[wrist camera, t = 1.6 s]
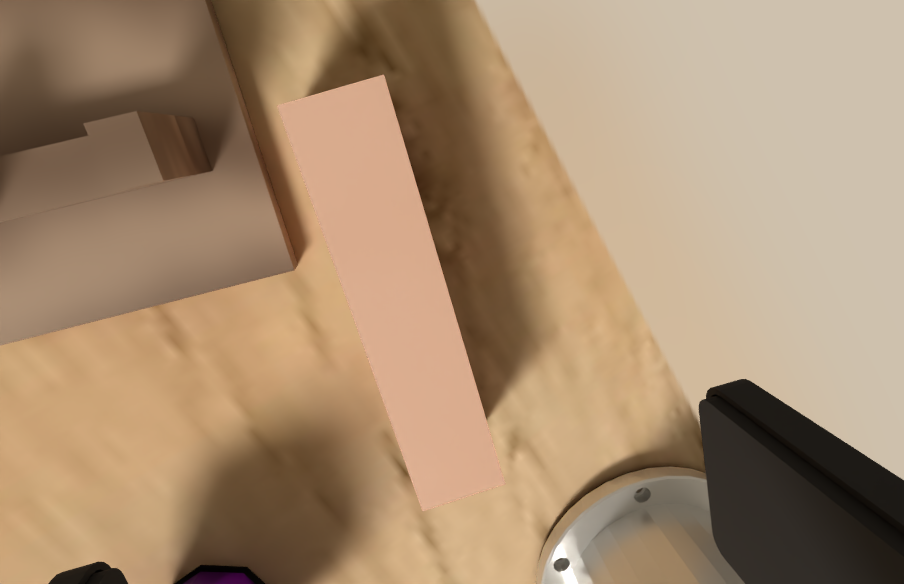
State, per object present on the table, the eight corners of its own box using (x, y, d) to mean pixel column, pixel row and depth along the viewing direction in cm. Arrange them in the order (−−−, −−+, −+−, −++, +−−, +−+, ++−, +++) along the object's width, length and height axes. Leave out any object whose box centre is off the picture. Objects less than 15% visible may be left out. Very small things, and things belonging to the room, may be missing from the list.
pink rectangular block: (482, 422, 27) (505, 484, 22) (414, 444, 26) (422, 511, 22) (382, 88, 22) (384, 74, 17) (299, 112, 22) (276, 105, 17)
